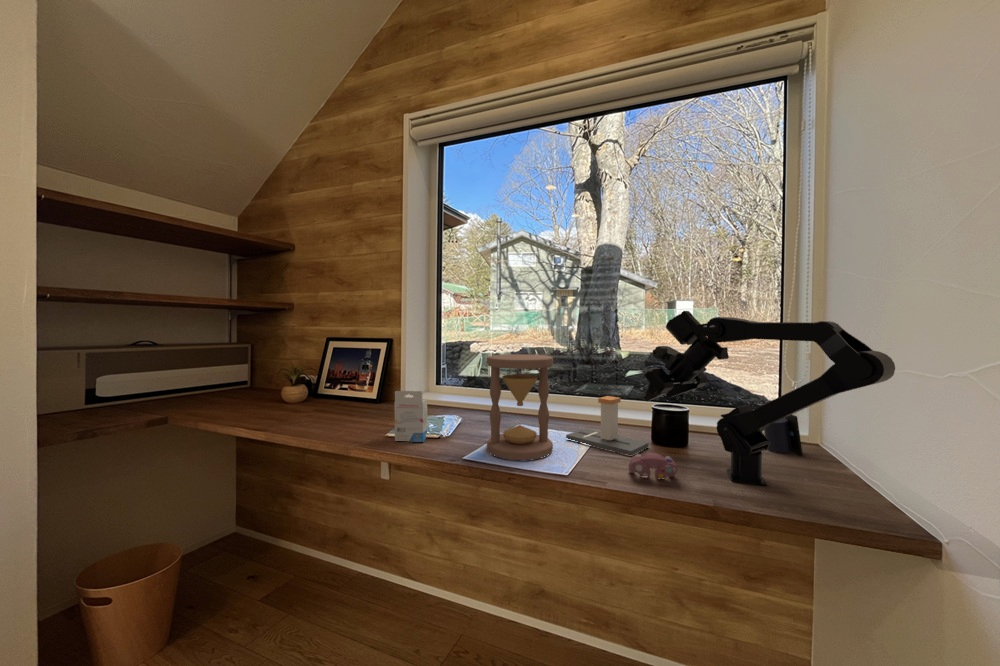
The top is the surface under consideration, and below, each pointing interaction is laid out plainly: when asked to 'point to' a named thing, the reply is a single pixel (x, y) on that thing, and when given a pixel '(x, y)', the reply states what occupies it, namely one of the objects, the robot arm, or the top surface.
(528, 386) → the hourglass
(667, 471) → the video game controller
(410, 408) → the ink box
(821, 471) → the top surface
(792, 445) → the speaker
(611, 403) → the fader knob
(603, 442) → the grey grooved tray
